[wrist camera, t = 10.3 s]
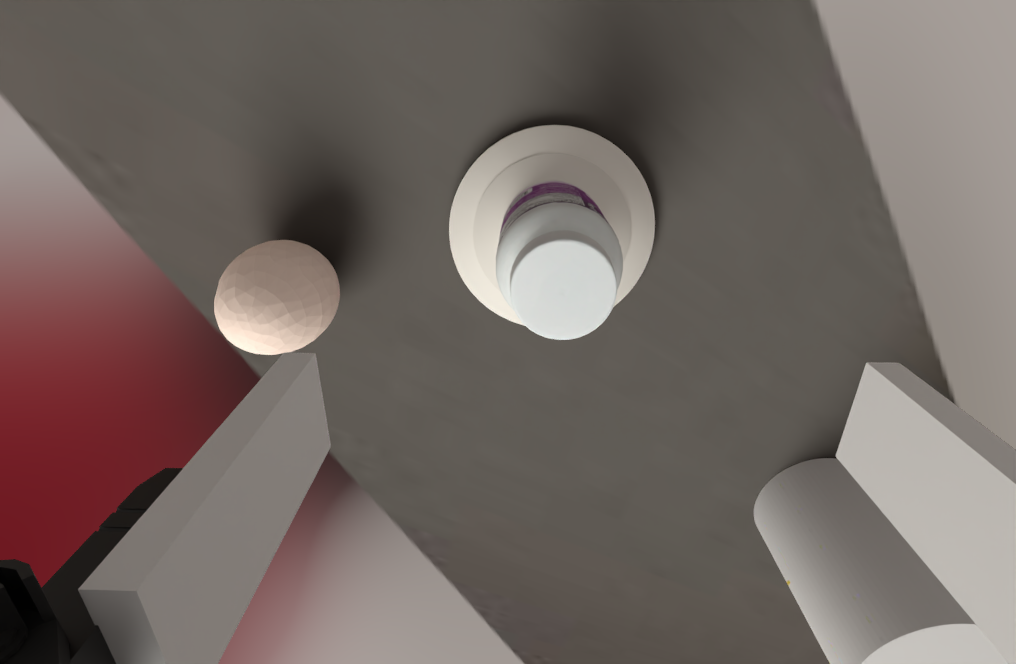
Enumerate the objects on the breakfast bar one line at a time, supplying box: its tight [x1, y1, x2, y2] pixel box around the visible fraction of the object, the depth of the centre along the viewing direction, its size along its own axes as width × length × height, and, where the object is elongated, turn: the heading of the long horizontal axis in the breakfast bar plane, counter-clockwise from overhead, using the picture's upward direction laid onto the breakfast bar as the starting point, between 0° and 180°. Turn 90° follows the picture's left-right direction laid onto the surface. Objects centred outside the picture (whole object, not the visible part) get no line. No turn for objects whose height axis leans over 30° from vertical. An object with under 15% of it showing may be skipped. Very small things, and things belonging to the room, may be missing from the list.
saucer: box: [449, 124, 655, 325], centre depth 29 cm, size 11×11×1 cm
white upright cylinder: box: [754, 458, 1009, 664], centre depth 32 cm, size 8×8×12 cm
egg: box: [214, 240, 340, 355], centre depth 27 cm, size 6×6×8 cm
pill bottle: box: [496, 180, 623, 340], centre depth 24 cm, size 5×5×10 cm
